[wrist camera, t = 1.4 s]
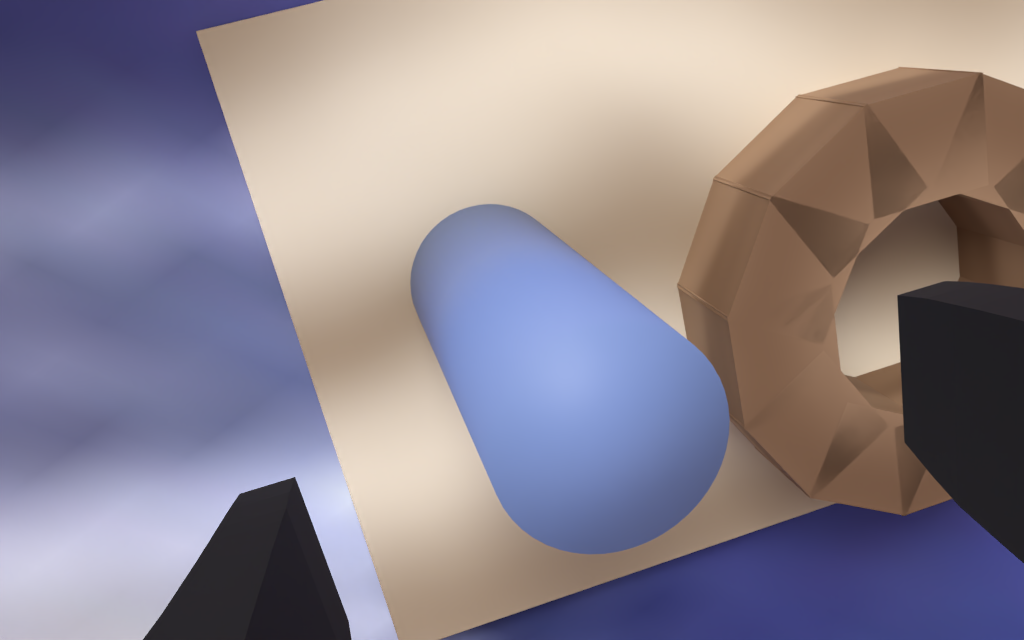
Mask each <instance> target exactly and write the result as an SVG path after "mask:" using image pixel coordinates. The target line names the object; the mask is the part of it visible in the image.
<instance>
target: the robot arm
mask: <svg viewBox="0 0 1024 640" xmlns="http://www.w3.org/2000/svg"><path fill="white" fill-rule="evenodd" d="M897 301H898V321H899V342H900V362H901V382H902V403H903V423H904V442H905V444H906V445H907V446H908V447H909V448H910V450H911V451H912V452H913V453H914V454H915V456H916V457H917V458H918V459H919V461H920V462H921V463H922V464H923V465H924V467H925V468H926V469H927V470H928V471H929V473H930V474H931V475H932V476H933V477H934V479H935V480H936V481H937V482H938V483H939V484H940V485H941V486H942V488H943V489H944V490H945V491H946V492H947V493H948V494H949V495H950V496H951V498H952V499H953V500H954V501H955V502H956V503H957V504H958V505H959V506H960V507H961V508H962V509H963V510H964V511H965V512H966V513H968V514H969V515H970V516H971V517H972V518H973V519H974V520H975V521H976V522H978V523H979V524H980V525H981V526H982V527H983V528H984V529H985V530H987V531H988V532H989V533H990V534H991V535H992V536H993V537H994V538H996V539H997V540H998V541H999V542H1000V543H1001V544H1002V545H1003V546H1005V547H1006V548H1007V549H1008V550H1009V551H1010V552H1011V553H1013V554H1014V555H1015V556H1016V557H1017V558H1018V559H1020V560H1021V561H1022V562H1023V563H1024V288H1018V287H1010V286H1002V285H994V284H985V283H975V282H960V281H943V282H940V283H936V284H933V285H930V286H926V287H923V288H920V289H916V290H913V291H910V292H906V293H903V294H900V295H897ZM143 640H351V634H350V628H349V622H348V619H347V616H346V613H345V611H344V608H343V605H342V603H341V600H340V597H339V594H338V592H337V589H336V586H335V584H334V581H333V578H332V576H331V573H330V570H329V568H328V565H327V562H326V559H325V557H324V554H323V551H322V549H321V546H320V543H319V541H318V538H317V535H316V532H315V530H314V527H313V524H312V522H311V519H310V516H309V514H308V511H307V508H306V506H305V503H304V500H303V497H302V495H301V492H300V489H299V487H298V484H297V481H296V479H295V477H294V478H291V479H288V480H284V481H281V482H278V483H274V484H271V485H268V486H264V487H261V488H258V489H254V490H251V491H248V492H245V493H241V494H240V495H239V496H238V497H237V499H236V500H235V502H234V503H233V505H232V506H231V508H230V509H229V511H228V512H227V514H226V516H225V517H224V519H223V520H222V522H221V523H220V525H219V527H218V528H217V530H216V531H215V533H214V535H213V536H212V538H211V540H210V541H209V543H208V544H207V546H206V547H205V549H204V551H203V552H202V554H201V555H200V557H199V558H198V560H197V562H196V563H195V565H194V566H193V568H192V569H191V571H190V572H189V574H188V575H187V577H186V578H185V580H184V581H183V583H182V584H181V586H180V587H179V589H178V591H177V592H176V594H175V595H174V597H173V598H172V600H171V601H170V603H169V604H168V606H167V607H166V609H165V610H164V612H163V613H162V615H161V616H160V617H159V619H158V620H157V621H156V623H155V624H154V626H153V627H152V628H151V630H150V631H149V632H148V634H147V635H146V636H145V638H144V639H143Z"/></svg>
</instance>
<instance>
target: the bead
mask: <svg viewBox="0 0 1024 640" xmlns="http://www.w3.org/2000/svg"><path fill="white" fill-rule="evenodd" d="M795 97H796V98H795V99H794V100H793V101H792V102H791V103H790V104H788V105H787V106H786V107H785V108H784V109H783V110H782V111H781V112H780V113H779V114H778V115H777V116H776V117H775V118H774V119H773V120H772V121H771V122H770V123H769V124H768V125H767V126H766V127H765V128H764V129H763V130H762V131H761V132H760V133H759V134H758V135H757V136H756V137H755V138H754V139H753V140H752V141H751V142H750V143H749V144H748V145H747V146H746V147H745V148H744V149H743V150H742V151H741V152H740V153H739V154H738V155H737V156H736V157H735V158H734V159H733V160H732V161H731V162H729V163H728V164H727V165H726V166H725V167H724V168H723V169H722V170H721V171H720V172H719V173H718V174H717V175H716V176H715V177H714V178H713V183H712V185H711V188H710V191H709V194H708V197H707V200H706V203H705V206H704V209H703V212H702V215H701V218H700V221H699V223H698V226H697V229H696V232H695V235H694V238H693V241H692V244H691V247H690V250H689V253H688V256H687V259H686V262H685V264H684V267H683V270H682V273H681V276H680V279H679V282H678V283H677V287H678V291H679V297H680V302H681V308H682V314H683V320H684V325H685V331H686V337H687V340H688V341H690V342H691V343H692V344H693V345H694V346H695V347H697V348H698V349H699V350H700V351H701V352H702V353H703V354H704V355H705V356H706V358H707V359H708V360H709V361H710V363H711V364H712V365H713V367H714V369H715V370H716V372H717V374H718V376H719V377H720V380H721V382H722V385H723V387H724V390H725V393H726V398H727V402H728V408H729V418H730V421H731V422H732V423H733V424H734V425H735V426H736V427H737V429H738V430H739V431H740V432H741V433H742V434H743V435H744V436H745V437H746V438H747V439H748V440H749V441H750V442H751V443H752V444H753V445H754V446H755V449H757V450H758V451H759V452H760V453H761V454H762V455H763V456H764V457H765V458H766V459H767V460H769V461H770V462H771V463H772V464H773V465H774V466H775V467H776V468H777V469H778V470H780V471H781V472H782V473H783V474H784V475H785V476H786V477H787V478H788V479H789V480H791V481H792V482H793V483H794V484H795V485H796V486H797V487H798V488H799V489H800V490H801V491H803V492H804V493H805V494H806V495H807V496H808V497H809V498H812V499H819V500H824V501H829V502H835V503H840V504H846V505H851V506H856V507H862V508H867V509H873V510H878V511H883V512H889V513H894V514H899V515H902V516H904V515H905V516H906V515H907V514H910V513H913V512H916V511H919V510H922V509H924V508H927V507H930V506H933V505H936V504H939V503H942V502H945V501H947V500H950V499H952V498H951V496H950V495H949V494H948V493H947V492H946V491H945V490H944V489H943V488H942V486H941V485H940V484H939V483H938V482H937V481H936V480H935V479H934V477H933V476H932V475H931V474H930V473H929V471H928V470H927V469H926V468H925V467H924V465H923V464H922V463H921V462H920V461H919V459H918V458H917V457H916V456H915V454H914V453H913V452H912V451H911V450H910V448H909V447H908V446H907V445H906V444H905V442H904V423H903V403H902V382H901V362H899V363H896V364H893V365H890V366H887V367H884V368H881V369H878V370H875V371H872V372H868V373H865V374H862V375H859V376H856V377H852V376H848V375H844V374H843V372H842V371H841V368H840V359H839V350H838V342H837V333H836V324H835V316H834V314H835V312H836V309H837V307H838V304H839V301H840V299H841V296H842V294H843V291H844V288H845V286H846V283H847V281H848V278H849V275H850V273H851V270H852V268H853V265H854V262H855V260H856V257H857V255H858V254H859V253H860V252H861V251H862V250H863V249H864V248H865V247H866V246H867V245H868V244H869V243H871V242H872V241H873V240H874V239H875V238H876V237H877V236H878V235H879V234H880V233H881V232H882V231H883V230H884V229H885V228H886V227H887V226H888V225H889V224H890V223H891V222H892V221H893V220H894V219H895V218H896V217H897V216H898V215H900V214H901V213H902V212H903V211H904V210H907V209H910V208H913V207H917V206H920V205H923V204H927V203H930V202H933V201H937V200H938V201H939V203H940V204H941V205H942V207H943V208H944V210H945V211H946V212H947V214H948V215H949V216H950V218H951V219H952V221H953V222H954V223H955V225H956V226H957V241H958V256H959V272H960V277H959V279H958V281H960V282H975V283H985V284H994V285H1002V286H1010V287H1018V288H1024V89H1023V88H1021V87H1018V86H1015V85H1012V84H1010V83H1007V82H1004V81H1001V80H999V79H996V78H993V77H990V76H988V75H985V74H983V72H969V71H955V70H940V69H925V68H910V67H898V68H896V69H893V70H889V71H885V72H882V73H878V74H875V75H871V76H867V77H864V78H860V79H856V80H853V81H849V82H846V83H842V84H838V85H835V86H831V87H827V88H824V89H820V90H817V91H813V92H809V93H806V94H802V95H800V94H799V95H798V96H795Z"/></svg>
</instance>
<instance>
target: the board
mask: <svg viewBox="0 0 1024 640" xmlns="http://www.w3.org/2000/svg"><path fill="white" fill-rule="evenodd" d="M196 33H197V36H198V39H199V42H200V45H201V48H202V51H203V54H204V57H205V60H206V63H207V66H208V69H209V72H210V75H211V78H212V81H213V84H214V87H215V90H216V93H217V96H218V99H219V102H220V105H221V108H222V111H223V114H224V117H225V120H226V123H227V126H228V129H229V132H230V135H231V138H232V141H233V144H234V147H235V150H236V153H237V156H238V159H239V162H240V165H241V168H242V171H243V174H244V177H245V180H246V183H247V186H248V189H249V192H250V195H251V198H252V201H253V204H254V207H255V210H256V213H257V216H258V219H259V222H260V225H261V228H262V231H263V234H264V237H265V240H266V243H267V246H268V249H269V252H270V255H271V258H272V261H273V264H274V267H275V270H276V273H277V276H278V279H279V282H280V285H281V288H282V291H283V294H284V297H285V300H286V303H287V306H288V309H289V312H290V315H291V318H292V321H293V324H294V327H295V330H296V333H297V336H298V339H299V342H300V345H301V348H302V351H303V354H304V357H305V360H306V363H307V366H308V369H309V372H310V375H311V378H312V381H313V384H314V387H315V390H316V393H317V396H318V399H319V402H320V405H321V408H322V411H323V414H324V417H325V420H326V423H327V426H328V429H329V432H330V435H331V438H332V441H333V444H334V447H335V450H336V453H337V456H338V459H339V462H340V465H341V468H342V471H343V474H344V477H345V480H346V483H347V486H348V489H349V492H350V495H351V498H352V501H353V504H354V507H355V510H356V513H357V516H358V519H359V522H360V525H361V528H362V531H363V534H364V537H365V540H366V543H367V546H368V549H369V552H370V555H371V558H372V561H373V564H374V567H375V570H376V573H377V576H378V579H379V582H380V585H381V588H382V591H383V594H384V597H385V600H386V603H387V606H388V609H389V612H390V615H391V618H392V621H393V624H394V627H395V630H396V633H397V636H398V639H399V640H439V639H442V638H445V637H448V636H451V635H454V634H457V633H460V632H462V631H465V630H468V629H471V628H474V627H477V626H480V625H483V624H486V623H489V622H492V621H495V620H497V619H500V618H503V617H506V616H509V615H512V614H515V613H518V612H521V611H524V610H527V609H529V608H532V607H535V606H538V605H541V604H544V603H547V602H550V601H553V600H556V599H559V598H562V597H564V596H567V595H570V594H573V593H576V592H579V591H582V590H585V589H588V588H591V587H594V586H596V585H599V584H602V583H605V582H608V581H611V580H614V579H617V578H620V577H623V576H626V575H629V574H631V573H634V572H637V571H640V570H643V569H646V568H649V567H652V566H655V565H658V564H661V563H663V562H666V561H669V560H672V559H675V558H678V557H681V556H684V555H687V554H690V553H693V552H695V551H698V550H701V549H704V548H707V547H710V546H713V545H716V544H719V543H722V542H725V541H728V540H730V539H733V538H736V537H739V536H742V535H745V534H748V533H751V532H754V531H757V530H760V529H762V528H765V527H768V526H771V525H774V524H777V523H780V522H783V521H786V520H789V519H792V518H795V517H797V516H800V515H803V514H806V513H809V512H812V511H815V510H818V509H821V508H824V507H827V506H829V505H832V504H835V502H829V501H824V500H819V499H812V498H809V497H808V496H807V495H806V494H805V493H804V492H803V491H801V490H800V489H799V488H798V487H797V486H796V485H795V484H794V483H793V482H792V481H791V480H789V479H788V478H787V477H786V476H785V475H784V474H783V473H782V472H781V471H780V470H778V469H777V468H776V467H775V466H774V465H773V464H772V463H771V462H770V461H769V460H767V459H766V458H765V457H764V456H763V455H762V454H761V453H760V452H759V451H758V450H757V449H755V446H754V445H753V444H752V443H751V442H750V441H749V440H748V439H747V438H746V437H745V436H744V435H743V434H742V433H741V432H740V431H739V430H738V429H737V427H736V426H735V425H734V424H733V423H732V422H731V421H730V422H729V437H728V443H727V449H726V452H725V455H724V459H723V462H722V465H721V467H720V469H719V472H718V474H717V476H716V478H715V480H714V482H713V483H712V485H711V487H710V488H709V490H708V492H707V493H706V494H705V496H704V497H703V498H702V500H701V501H700V502H699V504H698V505H697V506H696V507H695V508H694V509H693V510H692V511H691V512H690V513H689V514H688V515H687V516H686V517H685V518H684V519H683V520H681V521H680V522H679V523H678V524H677V525H675V526H674V527H673V528H671V529H670V530H668V531H667V532H665V533H664V534H662V535H660V536H658V537H657V538H655V539H653V540H651V541H649V542H647V543H644V544H642V545H639V546H637V547H634V548H630V549H627V550H623V551H619V552H613V553H607V554H579V553H572V552H567V551H563V550H559V549H556V548H554V547H551V546H548V545H546V544H544V543H542V542H540V541H538V540H536V539H534V538H533V537H531V536H530V535H529V534H527V533H526V532H525V531H523V530H522V529H521V528H520V527H519V526H518V525H517V524H516V523H515V522H514V521H513V520H512V519H511V518H510V516H509V515H508V514H507V512H506V511H505V510H504V508H503V506H502V505H501V503H500V501H499V499H498V497H497V495H496V493H495V491H494V488H493V486H492V484H491V481H490V479H489V477H488V475H487V472H486V470H485V468H484V465H483V463H482V461H481V459H480V456H479V454H478V452H477V449H476V447H475V445H474V443H473V440H472V438H471V436H470V433H469V431H468V429H467V427H466V424H465V422H464V420H463V417H462V415H461V413H460V411H459V408H458V406H457V404H456V401H455V399H454V397H453V395H452V392H451V390H450V388H449V385H448V383H447V381H446V379H445V376H444V374H443V372H442V369H441V367H440V365H439V363H438V360H437V358H436V356H435V353H434V351H433V349H432V347H431V344H430V342H429V340H428V337H427V335H426V333H425V331H424V328H423V326H422V324H421V321H420V319H419V317H418V315H417V312H416V310H415V307H414V304H413V300H412V295H411V286H410V280H411V270H412V265H413V262H414V259H415V256H416V253H417V251H418V249H419V247H420V245H421V243H422V242H423V240H424V239H425V237H426V236H427V235H428V234H429V232H430V231H431V230H432V229H433V228H434V227H435V226H436V225H437V224H438V223H440V222H441V221H442V220H443V219H445V218H446V217H448V216H449V215H451V214H453V213H455V212H457V211H459V210H462V209H465V208H467V207H471V206H476V205H483V204H499V205H505V206H510V207H513V208H516V209H519V210H521V211H523V212H525V213H527V214H528V215H530V216H531V217H533V218H534V219H536V220H537V221H538V222H540V223H541V224H542V225H543V226H545V227H546V228H547V229H548V230H550V231H551V232H552V233H553V234H555V235H556V236H557V237H558V238H560V239H561V240H562V241H564V242H565V243H566V244H567V245H569V246H570V247H571V248H572V249H574V250H575V251H576V252H577V253H579V254H580V255H581V256H582V257H584V258H585V259H586V260H587V261H589V262H590V263H591V264H593V265H594V266H595V267H596V268H598V269H599V270H600V271H601V272H603V273H604V274H605V275H606V276H608V277H609V278H610V279H611V280H613V281H614V282H615V283H616V284H618V285H619V286H620V287H622V288H623V289H624V290H625V291H627V292H628V293H629V294H630V295H632V296H633V297H634V298H635V299H637V300H638V301H639V302H640V303H642V304H643V305H644V306H645V307H647V308H648V309H649V310H651V311H652V312H653V313H654V314H656V315H657V316H658V317H659V318H661V319H662V320H663V321H664V322H666V323H667V324H668V325H669V326H671V327H672V328H673V329H674V330H676V331H677V332H678V333H680V334H681V335H682V336H683V337H685V338H686V339H687V337H686V331H685V325H684V320H683V314H682V308H681V302H680V297H679V291H678V287H677V283H678V282H679V279H680V276H681V273H682V270H683V267H684V264H685V262H686V259H687V256H688V253H689V250H690V247H691V244H692V241H693V238H694V235H695V232H696V229H697V226H698V223H699V221H700V218H701V215H702V212H703V209H704V206H705V203H706V200H707V197H708V194H709V191H710V188H711V185H712V183H713V178H714V177H715V176H716V175H717V174H718V173H719V172H720V171H721V170H722V169H723V168H724V167H725V166H726V165H727V164H728V163H729V162H731V161H732V160H733V159H734V158H735V157H736V156H737V155H738V154H739V153H740V152H741V151H742V150H743V149H744V148H745V147H746V146H747V145H748V144H749V143H750V142H751V141H752V140H753V139H754V138H755V137H756V136H757V135H758V134H759V133H760V132H761V131H762V130H763V129H764V128H765V127H766V126H767V125H768V124H769V123H770V122H771V121H772V120H773V119H774V118H775V117H776V116H777V115H778V114H779V113H780V112H781V111H782V110H783V109H784V108H785V107H786V106H787V105H788V104H790V103H791V102H792V101H793V100H794V99H795V98H796V97H795V96H798V95H799V94H800V95H802V94H806V93H809V92H813V91H817V90H820V89H824V88H827V87H831V86H835V85H838V84H842V83H846V82H849V81H853V80H856V79H860V78H864V77H867V76H871V75H875V74H878V73H882V72H885V71H889V70H893V69H896V68H898V67H910V68H925V69H940V70H955V71H969V72H983V74H985V75H988V76H990V77H993V78H996V79H999V80H1001V81H1004V82H1007V83H1010V84H1012V85H1015V86H1018V87H1021V88H1023V89H1024V0H324V1H319V2H315V3H311V4H307V5H303V6H299V7H295V8H291V9H286V10H282V11H278V12H274V13H270V14H266V15H262V16H258V17H253V18H249V19H245V20H241V21H237V22H233V23H229V24H225V25H220V26H216V27H212V28H208V29H204V30H200V31H196ZM959 277H960V272H959V256H958V241H957V226H956V225H955V223H954V222H953V221H952V219H951V218H950V216H949V215H948V214H947V212H946V211H945V210H944V208H943V207H942V205H941V204H940V203H939V201H938V200H937V201H933V202H930V203H927V204H923V205H920V206H917V207H913V208H910V209H907V210H904V211H903V212H902V213H901V214H900V215H898V216H897V217H896V218H895V219H894V220H893V221H892V222H891V223H890V224H889V225H888V226H887V227H886V228H885V229H884V230H883V231H882V232H881V233H880V234H879V235H878V236H877V237H876V238H875V239H874V240H873V241H872V242H871V243H869V244H868V245H867V246H866V247H865V248H864V249H863V250H862V251H861V252H860V253H859V254H858V255H857V257H856V260H855V262H854V265H853V268H852V270H851V273H850V275H849V278H848V281H847V283H846V286H845V288H844V291H843V294H842V296H841V299H840V301H839V304H838V307H837V309H836V312H835V314H834V316H835V324H836V333H837V342H838V350H839V359H840V368H841V371H842V372H843V374H844V375H848V376H852V377H856V376H859V375H862V374H865V373H868V372H872V371H875V370H878V369H881V368H884V367H887V366H890V365H893V364H896V363H899V362H900V342H899V321H898V301H897V295H900V294H903V293H906V292H910V291H913V290H916V289H920V288H923V287H926V286H930V285H933V284H936V283H940V282H943V281H958V279H959Z"/></svg>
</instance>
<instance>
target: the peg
mask: <svg viewBox="0 0 1024 640" xmlns="http://www.w3.org/2000/svg"><path fill="white" fill-rule="evenodd" d="M410 286H411V295H412V300H413V304H414V307H415V310H416V312H417V315H418V317H419V319H420V321H421V324H422V326H423V328H424V331H425V333H426V335H427V337H428V340H429V342H430V344H431V347H432V349H433V351H434V353H435V356H436V358H437V360H438V363H439V365H440V367H441V369H442V372H443V374H444V376H445V379H446V381H447V383H448V385H449V388H450V390H451V392H452V395H453V397H454V399H455V401H456V404H457V406H458V408H459V411H460V413H461V415H462V417H463V420H464V422H465V424H466V427H467V429H468V431H469V433H470V436H471V438H472V440H473V443H474V445H475V447H476V449H477V452H478V454H479V456H480V459H481V461H482V463H483V465H484V468H485V470H486V472H487V475H488V477H489V479H490V481H491V484H492V486H493V488H494V491H495V493H496V495H497V497H498V499H499V501H500V503H501V505H502V506H503V508H504V510H505V511H506V512H507V514H508V515H509V516H510V518H511V519H512V520H513V521H514V522H515V523H516V524H517V525H518V526H519V527H520V528H521V529H522V530H523V531H525V532H526V533H527V534H529V535H530V536H531V537H533V538H534V539H536V540H538V541H540V542H542V543H544V544H546V545H548V546H551V547H554V548H556V549H559V550H563V551H567V552H572V553H579V554H607V553H613V552H619V551H623V550H627V549H630V548H634V547H637V546H639V545H642V544H644V543H647V542H649V541H651V540H653V539H655V538H657V537H658V536H660V535H662V534H664V533H665V532H667V531H668V530H670V529H671V528H673V527H674V526H675V525H677V524H678V523H679V522H680V521H681V520H683V519H684V518H685V517H686V516H687V515H688V514H689V513H690V512H691V511H692V510H693V509H694V508H695V507H696V506H697V505H698V504H699V502H700V501H701V500H702V498H703V497H704V496H705V494H706V493H707V492H708V490H709V488H710V487H711V485H712V483H713V482H714V480H715V478H716V476H717V474H718V472H719V469H720V467H721V465H722V462H723V459H724V455H725V452H726V449H727V443H728V437H729V422H730V418H729V408H728V402H727V398H726V393H725V390H724V387H723V385H722V382H721V380H720V377H719V376H718V374H717V372H716V370H715V369H714V367H713V365H712V364H711V363H710V361H709V360H708V359H707V358H706V356H705V355H704V354H703V353H702V352H701V351H700V350H699V349H698V348H697V347H695V346H694V345H693V344H692V343H691V342H690V341H688V340H687V339H686V338H685V337H683V336H682V335H681V334H680V333H678V332H677V331H676V330H674V329H673V328H672V327H671V326H669V325H668V324H667V323H666V322H664V321H663V320H662V319H661V318H659V317H658V316H657V315H656V314H654V313H653V312H652V311H651V310H649V309H648V308H647V307H645V306H644V305H643V304H642V303H640V302H639V301H638V300H637V299H635V298H634V297H633V296H632V295H630V294H629V293H628V292H627V291H625V290H624V289H623V288H622V287H620V286H619V285H618V284H616V283H615V282H614V281H613V280H611V279H610V278H609V277H608V276H606V275H605V274H604V273H603V272H601V271H600V270H599V269H598V268H596V267H595V266H594V265H593V264H591V263H590V262H589V261H587V260H586V259H585V258H584V257H582V256H581V255H580V254H579V253H577V252H576V251H575V250H574V249H572V248H571V247H570V246H569V245H567V244H566V243H565V242H564V241H562V240H561V239H560V238H558V237H557V236H556V235H555V234H553V233H552V232H551V231H550V230H548V229H547V228H546V227H545V226H543V225H542V224H541V223H540V222H538V221H537V220H536V219H534V218H533V217H531V216H530V215H528V214H527V213H525V212H523V211H521V210H519V209H516V208H513V207H510V206H505V205H499V204H483V205H476V206H471V207H467V208H465V209H462V210H459V211H457V212H455V213H453V214H451V215H449V216H448V217H446V218H445V219H443V220H442V221H441V222H440V223H438V224H437V225H436V226H435V227H434V228H433V229H432V230H431V231H430V232H429V234H428V235H427V236H426V237H425V239H424V240H423V242H422V243H421V245H420V247H419V249H418V251H417V253H416V256H415V259H414V262H413V265H412V270H411V280H410Z"/></svg>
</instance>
